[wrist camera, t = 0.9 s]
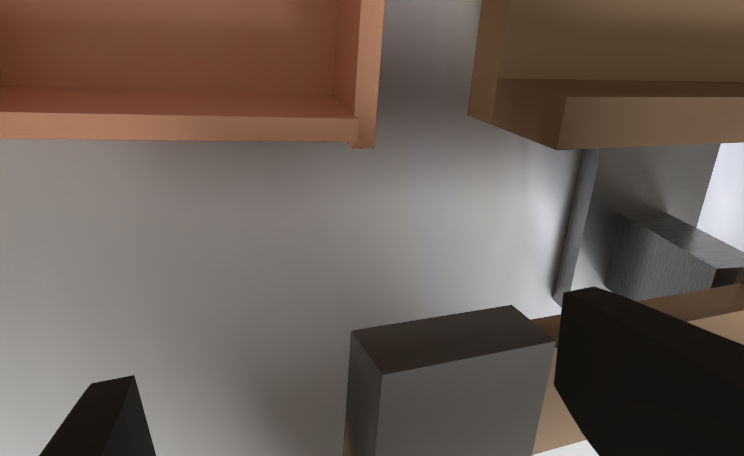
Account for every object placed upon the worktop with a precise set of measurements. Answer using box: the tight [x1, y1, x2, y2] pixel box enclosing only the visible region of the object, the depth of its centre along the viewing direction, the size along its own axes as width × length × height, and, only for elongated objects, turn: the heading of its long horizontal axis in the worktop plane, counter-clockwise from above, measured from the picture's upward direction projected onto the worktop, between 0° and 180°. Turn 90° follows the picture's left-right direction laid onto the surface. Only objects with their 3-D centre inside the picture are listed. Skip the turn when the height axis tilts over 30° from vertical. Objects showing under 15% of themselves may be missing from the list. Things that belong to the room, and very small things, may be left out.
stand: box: [553, 143, 744, 307], centre depth 19 cm, size 15×5×6 cm, turn 176°
